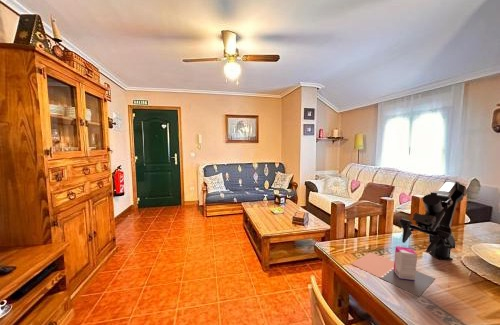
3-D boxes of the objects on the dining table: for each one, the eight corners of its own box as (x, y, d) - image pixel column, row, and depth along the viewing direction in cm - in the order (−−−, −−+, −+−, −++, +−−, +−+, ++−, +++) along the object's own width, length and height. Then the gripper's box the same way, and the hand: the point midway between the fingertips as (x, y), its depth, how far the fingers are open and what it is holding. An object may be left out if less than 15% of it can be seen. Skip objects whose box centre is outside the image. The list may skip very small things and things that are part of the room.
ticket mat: (435, 278, 89) (435, 278, 89) (419, 296, 79) (419, 295, 79) (370, 252, 110) (370, 251, 110) (350, 263, 100) (350, 263, 100)
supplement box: (415, 281, 87) (417, 254, 86) (399, 279, 88) (401, 252, 87) (408, 273, 93) (410, 247, 92) (392, 271, 94) (394, 245, 93)
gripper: (402, 201, 101) (384, 227, 97) (453, 213, 84) (433, 246, 80) (411, 215, 105) (395, 241, 101) (461, 230, 88) (443, 262, 84)
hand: (414, 246), depth 92 cm, fingers open, 9 cm apart
